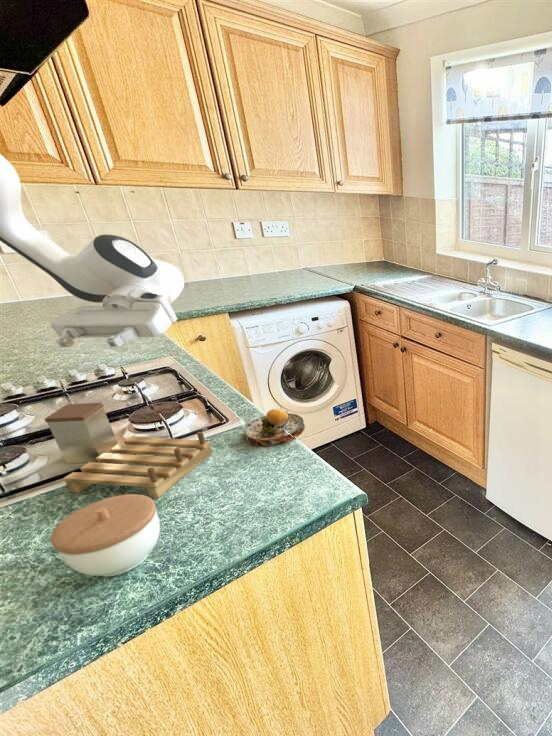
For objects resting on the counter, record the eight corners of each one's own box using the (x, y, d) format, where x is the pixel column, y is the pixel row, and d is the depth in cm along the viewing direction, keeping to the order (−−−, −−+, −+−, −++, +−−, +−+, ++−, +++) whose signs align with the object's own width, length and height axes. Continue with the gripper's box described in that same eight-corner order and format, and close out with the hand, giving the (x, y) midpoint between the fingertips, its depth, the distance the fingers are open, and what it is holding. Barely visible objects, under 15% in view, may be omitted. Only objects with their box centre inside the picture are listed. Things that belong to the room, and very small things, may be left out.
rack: (68, 492, 73) (56, 466, 71) (136, 447, 86) (127, 424, 84) (159, 498, 73) (150, 472, 71) (213, 453, 86) (207, 430, 84)
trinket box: (60, 567, 60) (32, 516, 56) (150, 522, 68) (131, 476, 64) (90, 604, 55) (62, 552, 51) (183, 551, 63) (165, 503, 59)
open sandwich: (286, 414, 102) (281, 386, 98) (316, 430, 96) (311, 401, 93) (234, 434, 92) (226, 405, 89) (263, 453, 87) (256, 422, 83)
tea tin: (65, 464, 80) (44, 418, 76) (85, 447, 85) (66, 404, 81) (101, 461, 81) (82, 416, 77) (119, 445, 86) (102, 402, 82)
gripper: (72, 295, 91) (19, 331, 80) (171, 295, 92) (131, 330, 81) (90, 320, 95) (42, 357, 84) (185, 319, 96) (149, 356, 86)
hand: (87, 344), depth 83 cm, fingers open, 8 cm apart
